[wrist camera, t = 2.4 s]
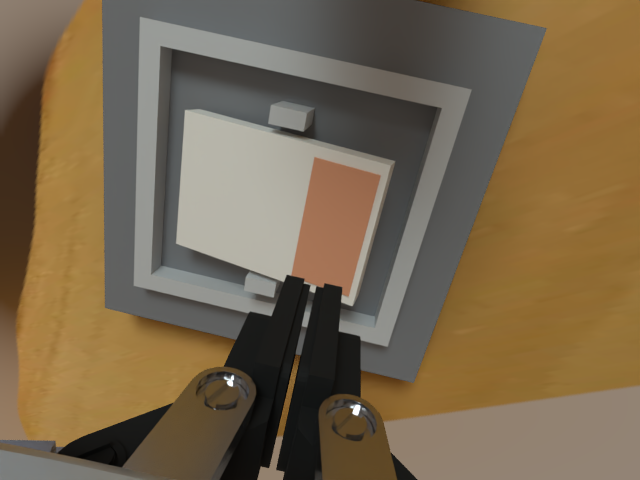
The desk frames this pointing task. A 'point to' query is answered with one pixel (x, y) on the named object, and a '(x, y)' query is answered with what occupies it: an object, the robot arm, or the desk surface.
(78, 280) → the desk surface
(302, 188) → the rocker switch
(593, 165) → the desk surface
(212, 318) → the switch plate
